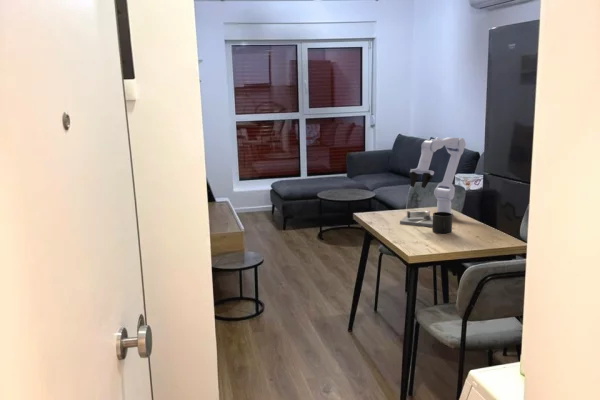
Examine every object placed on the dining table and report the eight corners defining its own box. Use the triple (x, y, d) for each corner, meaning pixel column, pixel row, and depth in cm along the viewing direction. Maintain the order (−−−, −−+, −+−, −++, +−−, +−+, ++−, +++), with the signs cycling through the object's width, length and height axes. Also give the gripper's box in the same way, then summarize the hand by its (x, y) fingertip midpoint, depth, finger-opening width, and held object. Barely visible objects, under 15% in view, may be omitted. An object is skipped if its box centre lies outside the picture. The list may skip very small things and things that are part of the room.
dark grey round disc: (424, 217, 294) (424, 216, 293) (431, 218, 292) (431, 216, 292) (423, 219, 290) (423, 217, 290) (429, 219, 289) (429, 218, 289)
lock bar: (429, 216, 292) (429, 210, 292) (430, 217, 290) (430, 211, 289) (406, 216, 292) (406, 211, 291) (408, 218, 289) (408, 212, 288)
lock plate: (408, 216, 303) (408, 213, 302) (448, 220, 293) (448, 217, 293) (399, 223, 287) (399, 220, 287) (441, 228, 278) (441, 224, 277)
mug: (433, 235, 265) (434, 217, 263) (431, 228, 277) (432, 211, 275) (453, 235, 264) (454, 217, 262) (450, 229, 276) (451, 211, 274)
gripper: (409, 159, 287) (402, 183, 286) (430, 160, 275) (423, 185, 274) (417, 163, 291) (410, 187, 290) (439, 165, 279) (431, 189, 278)
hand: (417, 187), depth 282 cm, fingers open, 7 cm apart
